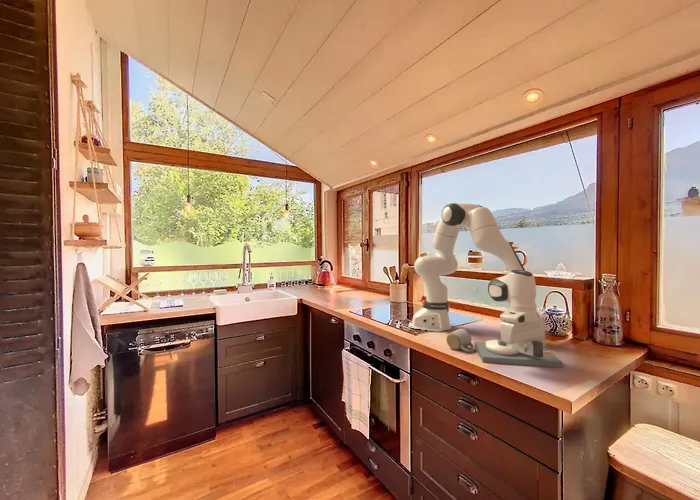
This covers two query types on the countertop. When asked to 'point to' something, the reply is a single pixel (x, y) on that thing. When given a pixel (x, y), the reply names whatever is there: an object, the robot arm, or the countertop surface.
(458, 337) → the ceramic mug
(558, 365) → the stand
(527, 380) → the countertop surface
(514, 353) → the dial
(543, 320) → the supplement box
